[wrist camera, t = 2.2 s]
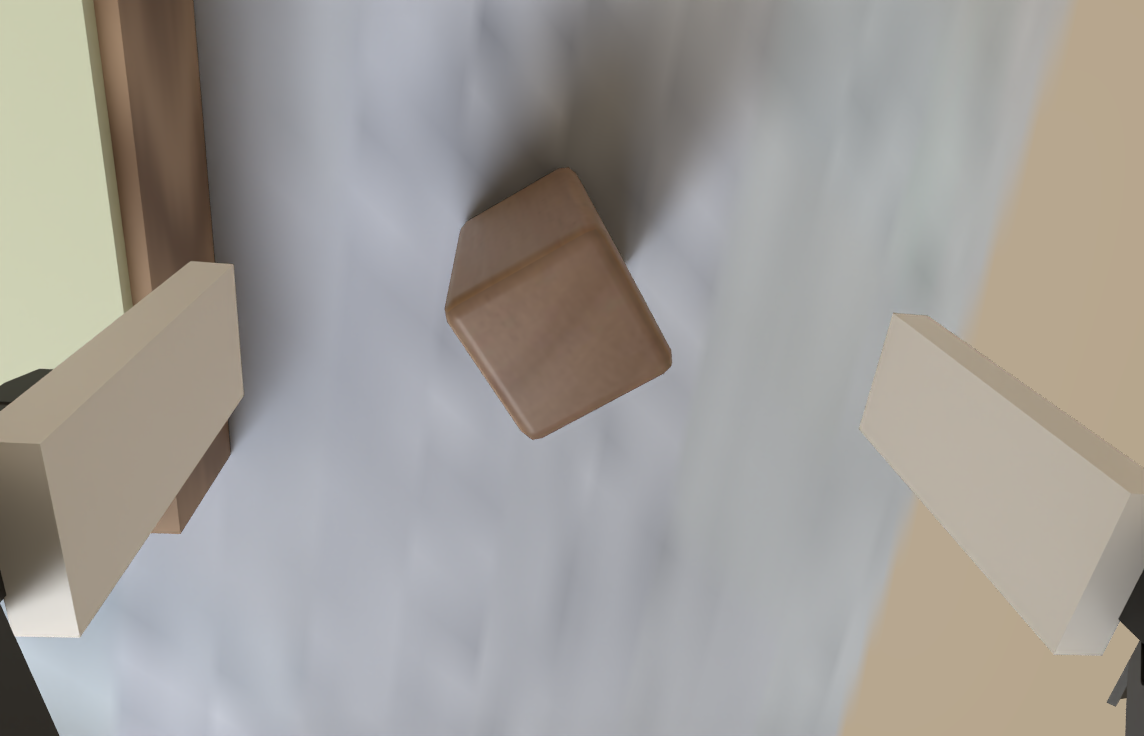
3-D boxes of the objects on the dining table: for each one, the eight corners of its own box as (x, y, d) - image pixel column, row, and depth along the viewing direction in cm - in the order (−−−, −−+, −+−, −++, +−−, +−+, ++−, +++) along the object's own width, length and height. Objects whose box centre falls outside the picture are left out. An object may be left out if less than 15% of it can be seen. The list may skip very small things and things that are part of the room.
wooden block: (628, 270, 25) (682, 371, 17) (521, 329, 25) (530, 451, 18) (568, 159, 23) (600, 219, 16) (455, 225, 24) (435, 312, 16)
